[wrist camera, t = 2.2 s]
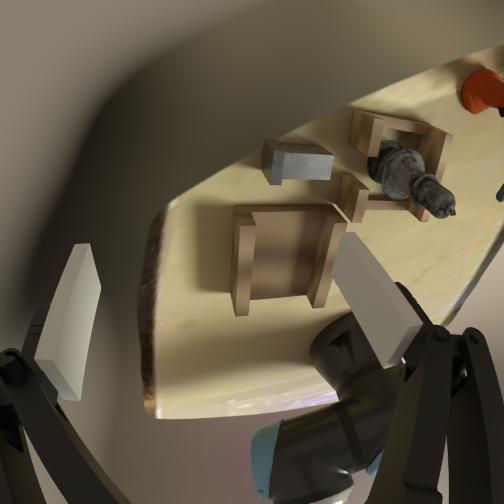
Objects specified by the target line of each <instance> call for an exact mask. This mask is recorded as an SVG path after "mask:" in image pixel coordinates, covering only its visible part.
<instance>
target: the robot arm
mask: <svg viewBox="0 0 504 504" xmlns="http://www.w3.org/2000/svg"><path fill="white" fill-rule="evenodd" d="M331 275H332V277H333V279H334V280H335V282H336V284H337V285H338V287H339V289H340V291H341V292H342V294H343V296H344V298H345V299H346V301H347V303H348V305H349V306H350V308H351V310H352V312H353V313H351V314H348V315H346V316H344V317H342V318H340V319H338V320H337V321H335V322H334V323H332V324H331V325H329V326H328V327H327V328H326V329H324V330H323V331H322V332H321V333H320V334H319V335H318V336H317V338H316V339H315V340H314V342H313V344H312V346H311V349H310V357H311V359H312V362H313V364H314V367H315V369H316V370H317V371H318V372H319V373H320V374H321V375H322V377H323V378H324V379H325V380H326V381H327V382H328V383H329V384H330V385H331V387H332V388H333V389H334V390H335V391H336V393H337V396H338V398H339V402H336V403H333V404H330V405H328V406H325V407H322V408H319V409H316V410H313V411H310V412H307V413H305V414H301V415H298V416H295V417H292V418H288V419H285V420H284V419H280V420H279V421H278V422H275V423H272V424H269V425H266V426H263V427H261V428H259V429H257V430H256V431H255V433H254V434H253V437H252V440H251V448H250V456H251V468H252V475H253V480H254V484H255V487H256V488H257V493H258V495H259V497H260V498H261V499H266V500H270V499H272V500H273V504H349V502H348V496H349V494H350V492H351V491H352V489H353V487H354V483H353V479H352V476H351V475H352V474H353V473H356V472H358V471H360V470H363V469H366V473H368V474H369V475H371V476H372V475H376V477H375V479H374V482H373V485H372V488H371V491H370V493H369V496H368V498H367V500H366V502H365V503H364V504H442V499H443V497H442V494H441V493H440V492H439V491H438V490H437V485H438V480H439V476H440V471H441V465H442V460H443V454H444V448H445V441H446V435H447V447H448V467H449V504H504V403H503V399H502V394H501V390H500V387H499V383H498V379H497V375H496V372H495V368H494V364H493V361H492V358H491V355H490V351H489V348H488V345H487V342H486V339H485V337H484V335H483V334H482V333H481V332H480V331H479V330H478V329H476V328H472V327H468V328H467V329H465V331H464V332H463V334H462V335H454V334H450V333H449V331H448V330H447V329H446V328H444V327H442V326H440V325H433V323H432V322H431V321H430V319H429V318H428V316H427V315H426V314H425V312H424V311H423V309H422V308H421V307H420V305H419V304H417V301H416V300H415V298H414V297H413V296H412V294H411V293H410V292H409V290H408V289H407V288H406V287H405V286H403V285H402V284H401V283H399V282H393V280H392V279H391V278H390V276H389V275H388V274H387V272H386V271H385V270H384V268H383V267H382V266H381V265H380V263H379V262H378V261H377V259H376V258H375V257H374V255H373V254H372V253H371V252H370V250H369V249H368V248H367V247H366V245H365V244H364V243H363V242H362V240H361V239H360V238H359V237H358V235H357V234H356V233H355V232H342V235H341V239H340V243H339V246H338V250H337V254H336V257H335V261H334V265H333V268H332V272H331ZM100 291H101V286H100V282H99V278H98V275H97V271H96V267H95V264H94V260H93V256H92V252H91V248H90V244H75V246H74V248H73V251H72V253H71V255H70V257H69V260H68V262H67V265H66V267H65V270H64V272H63V274H62V277H61V279H60V282H59V285H58V287H57V290H56V292H55V295H54V298H53V301H52V304H51V306H41V307H40V308H39V309H38V310H37V311H36V313H35V314H34V316H33V318H32V321H31V324H30V327H29V329H28V332H27V333H28V335H26V338H25V341H24V344H23V347H22V351H21V352H20V351H19V350H17V349H14V348H9V349H6V350H3V351H2V352H1V353H0V504H47V503H46V501H45V498H44V496H43V493H42V490H41V488H40V485H39V482H38V479H37V476H36V473H35V470H34V466H33V463H32V460H31V457H30V453H29V449H28V445H27V442H26V438H25V434H24V429H25V431H26V433H27V435H28V437H29V439H30V441H31V443H32V445H33V447H34V449H35V451H36V452H37V454H38V456H39V457H40V459H41V461H42V463H43V465H44V466H45V468H46V470H47V471H48V473H49V475H50V476H51V478H52V479H53V481H54V483H55V484H56V486H57V487H58V489H59V490H60V492H61V493H62V495H63V496H64V498H65V499H66V501H67V502H68V504H132V503H131V502H130V501H129V500H128V499H127V497H126V496H125V495H124V494H123V493H122V492H121V491H120V489H119V488H118V487H117V486H116V485H115V484H114V482H113V481H112V480H111V479H110V477H109V476H108V475H107V474H106V472H105V471H104V470H103V469H102V467H101V466H100V465H99V464H98V462H97V461H96V459H95V458H94V457H93V455H92V454H91V453H90V451H89V450H88V449H87V447H86V446H85V444H84V443H83V441H82V440H81V438H80V437H79V435H78V434H77V432H76V431H75V429H74V428H73V426H72V425H71V423H70V421H69V420H68V418H67V417H66V415H65V413H64V412H63V410H62V409H61V407H60V405H59V404H58V403H57V396H58V393H59V395H60V396H61V397H62V399H63V400H71V401H81V392H82V384H83V378H84V371H85V364H86V359H87V353H88V347H89V342H90V336H91V331H92V326H93V322H94V316H95V312H96V308H97V303H98V299H99V295H100ZM402 357H403V358H404V360H405V362H406V363H405V364H404V363H403V361H402V359H401V358H402ZM465 370H466V372H467V376H465V373H464V371H465ZM23 427H24V429H23Z"/></svg>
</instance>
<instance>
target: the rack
mask: <svg viewBox="0 0 504 504" xmlns="http://www.w3.org/2000/svg"><path fill="white" fill-rule="evenodd" d="M346 227H347V221H346V220H345V219H344V218H343V217H342V215H341V214H340V213H339V212H338V211H337V210H336V208H335V207H334V206H333V205H252V206H234V219H233V241H232V265H231V292H230V294H231V298H232V303H233V308H234V313H235V317H237V316H248V312H249V301H250V300H258V299H270V298H281V297H291V296H301V295H307V297H308V299H309V302H310V304H311V306H312V308H313V309H314V308H323V307H324V305H325V302H326V299H327V296H328V292H329V289H330V286H331V282H332V279H333V277H332V275H331V272H332V268H333V265H334V261H335V257H336V254H337V250H338V246H339V243H340V239H341V235H342V232H345V231H346Z"/></svg>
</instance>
